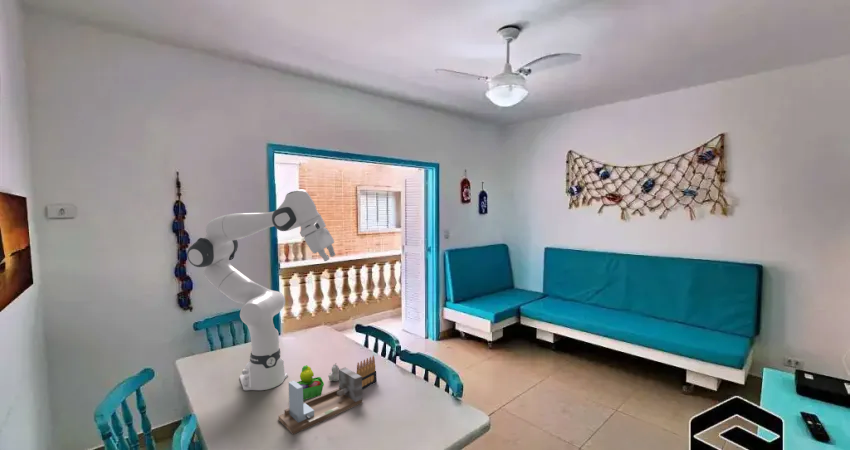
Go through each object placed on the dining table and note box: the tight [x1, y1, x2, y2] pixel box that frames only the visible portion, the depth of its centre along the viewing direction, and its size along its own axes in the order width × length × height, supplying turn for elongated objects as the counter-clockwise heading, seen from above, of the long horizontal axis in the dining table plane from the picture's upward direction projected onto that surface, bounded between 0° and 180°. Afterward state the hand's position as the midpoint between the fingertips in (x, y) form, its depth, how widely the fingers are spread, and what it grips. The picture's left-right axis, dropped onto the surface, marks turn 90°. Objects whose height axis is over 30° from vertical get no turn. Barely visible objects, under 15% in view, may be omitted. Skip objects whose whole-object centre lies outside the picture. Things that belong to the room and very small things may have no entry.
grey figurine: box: [328, 363, 340, 382], centre depth 162 cm, size 5×7×8 cm
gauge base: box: [278, 366, 363, 435], centre depth 137 cm, size 12×28×10 cm, turn 134°
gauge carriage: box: [288, 379, 314, 423], centre depth 131 cm, size 10×6×12 cm, turn 44°
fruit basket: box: [296, 364, 325, 401], centre depth 150 cm, size 11×9×11 cm
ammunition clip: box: [355, 355, 378, 391], centre depth 156 cm, size 11×2×12 cm, turn 143°
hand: (330, 258), depth 146 cm, fingers open, 8 cm apart
